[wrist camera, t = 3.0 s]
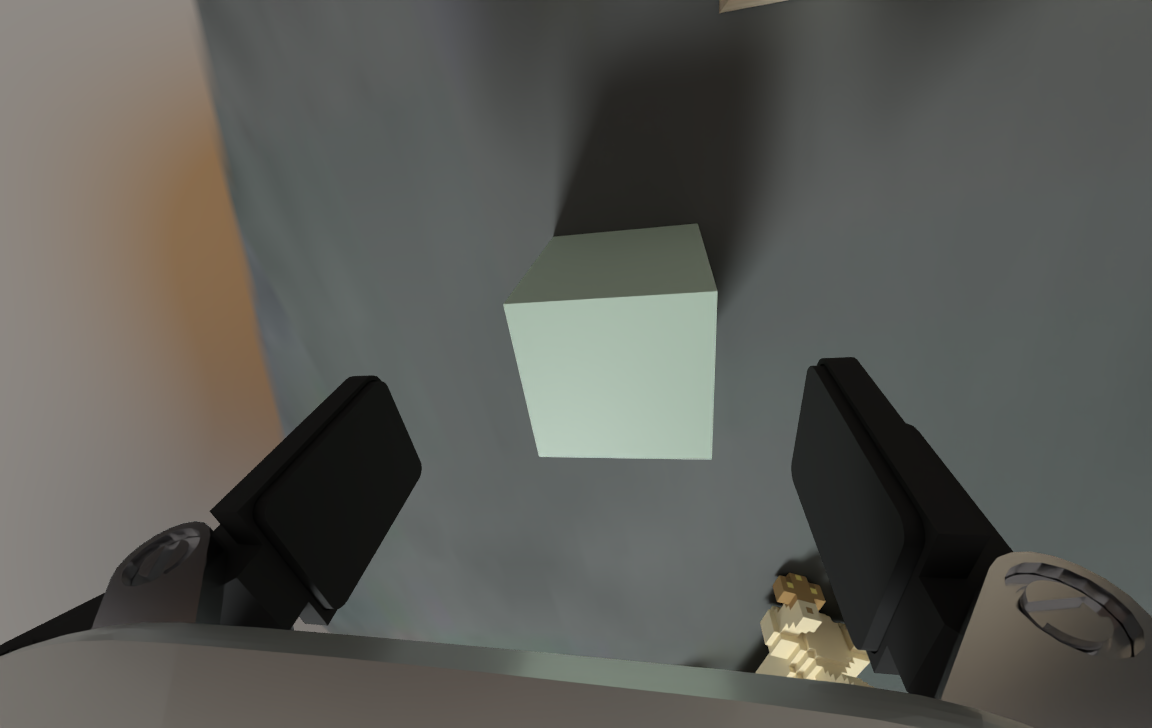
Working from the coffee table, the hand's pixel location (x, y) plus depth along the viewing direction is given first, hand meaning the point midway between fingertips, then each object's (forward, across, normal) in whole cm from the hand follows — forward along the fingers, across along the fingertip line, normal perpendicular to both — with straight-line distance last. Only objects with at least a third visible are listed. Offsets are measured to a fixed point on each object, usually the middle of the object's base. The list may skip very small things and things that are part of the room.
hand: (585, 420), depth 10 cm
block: (+8, -1, 0) cm, 8 cm away
